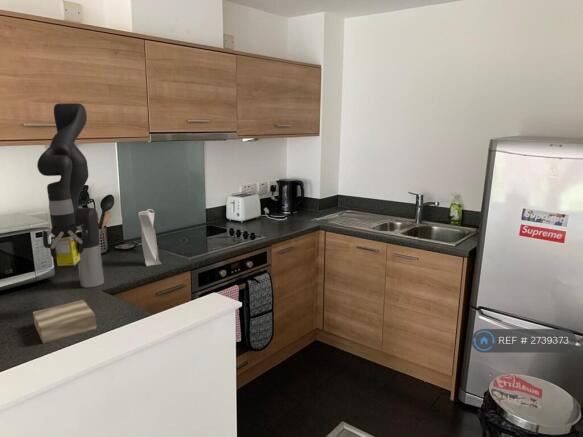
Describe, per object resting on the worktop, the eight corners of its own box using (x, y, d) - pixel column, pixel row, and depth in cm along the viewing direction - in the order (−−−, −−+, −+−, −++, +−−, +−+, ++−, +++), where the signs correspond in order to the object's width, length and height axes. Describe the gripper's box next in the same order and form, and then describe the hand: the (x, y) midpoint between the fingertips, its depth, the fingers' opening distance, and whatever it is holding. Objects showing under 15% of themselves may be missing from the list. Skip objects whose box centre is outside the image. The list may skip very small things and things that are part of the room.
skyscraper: (162, 265, 211) (157, 208, 205) (144, 268, 208) (139, 210, 201) (158, 260, 219) (154, 206, 212) (142, 263, 215) (136, 207, 209)
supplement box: (80, 261, 163) (76, 233, 160) (74, 267, 157) (70, 238, 154) (64, 262, 162) (60, 234, 159) (57, 268, 156) (53, 239, 154)
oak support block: (34, 325, 149) (32, 312, 148) (84, 312, 159) (83, 299, 158) (43, 343, 137) (40, 328, 136) (96, 328, 147) (94, 314, 146)
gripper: (80, 207, 161) (86, 249, 165) (37, 213, 153) (43, 257, 157) (85, 210, 156) (91, 253, 159) (40, 216, 147) (47, 262, 151)
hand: (67, 255), depth 158 cm, fingers closed on supplement box, 8 cm apart
